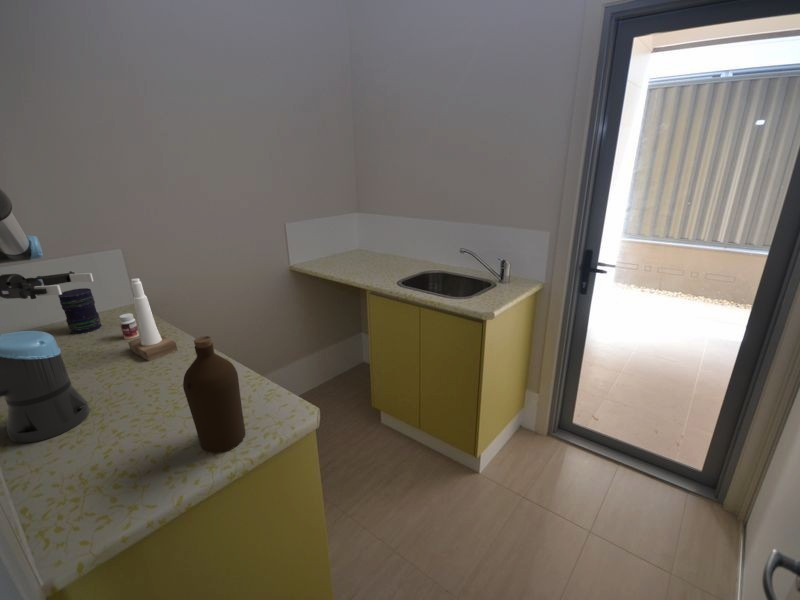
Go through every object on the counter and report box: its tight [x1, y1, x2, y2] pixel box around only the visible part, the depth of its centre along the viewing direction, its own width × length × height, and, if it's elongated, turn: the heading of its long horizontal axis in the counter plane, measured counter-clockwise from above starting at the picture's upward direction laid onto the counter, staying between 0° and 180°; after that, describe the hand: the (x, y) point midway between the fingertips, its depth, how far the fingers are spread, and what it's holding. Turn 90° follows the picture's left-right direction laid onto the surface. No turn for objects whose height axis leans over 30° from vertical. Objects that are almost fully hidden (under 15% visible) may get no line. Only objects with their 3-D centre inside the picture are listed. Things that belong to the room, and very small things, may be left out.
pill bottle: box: [118, 312, 140, 340], centre depth 142 cm, size 5×5×8 cm
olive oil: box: [182, 335, 246, 454], centre depth 85 cm, size 11×11×25 cm
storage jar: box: [57, 287, 103, 335], centre depth 149 cm, size 10×10×15 cm
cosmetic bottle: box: [130, 277, 162, 346], centre depth 128 cm, size 6×6×22 cm
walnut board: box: [127, 334, 178, 362], centre depth 132 cm, size 14×9×3 cm, turn 54°
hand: (76, 283), depth 121 cm, fingers open, 13 cm apart
